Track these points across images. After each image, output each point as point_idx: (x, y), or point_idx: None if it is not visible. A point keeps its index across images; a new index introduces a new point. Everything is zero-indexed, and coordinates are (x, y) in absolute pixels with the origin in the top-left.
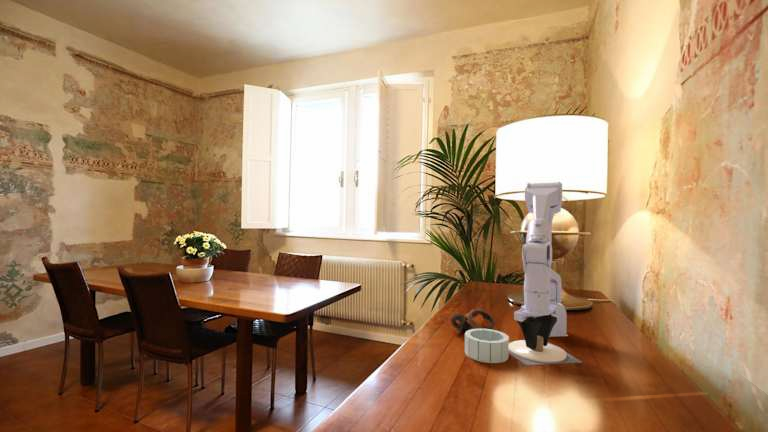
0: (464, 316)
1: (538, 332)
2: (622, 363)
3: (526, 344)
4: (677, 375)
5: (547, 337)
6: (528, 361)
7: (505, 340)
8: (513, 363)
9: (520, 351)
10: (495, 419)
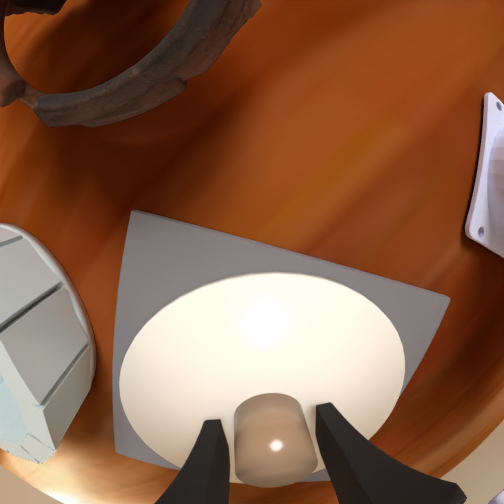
0: None
1: (339, 456)
2: (421, 462)
3: (200, 432)
4: None
5: (330, 476)
6: (144, 446)
7: (27, 458)
8: (90, 414)
9: (157, 407)
10: (6, 465)
